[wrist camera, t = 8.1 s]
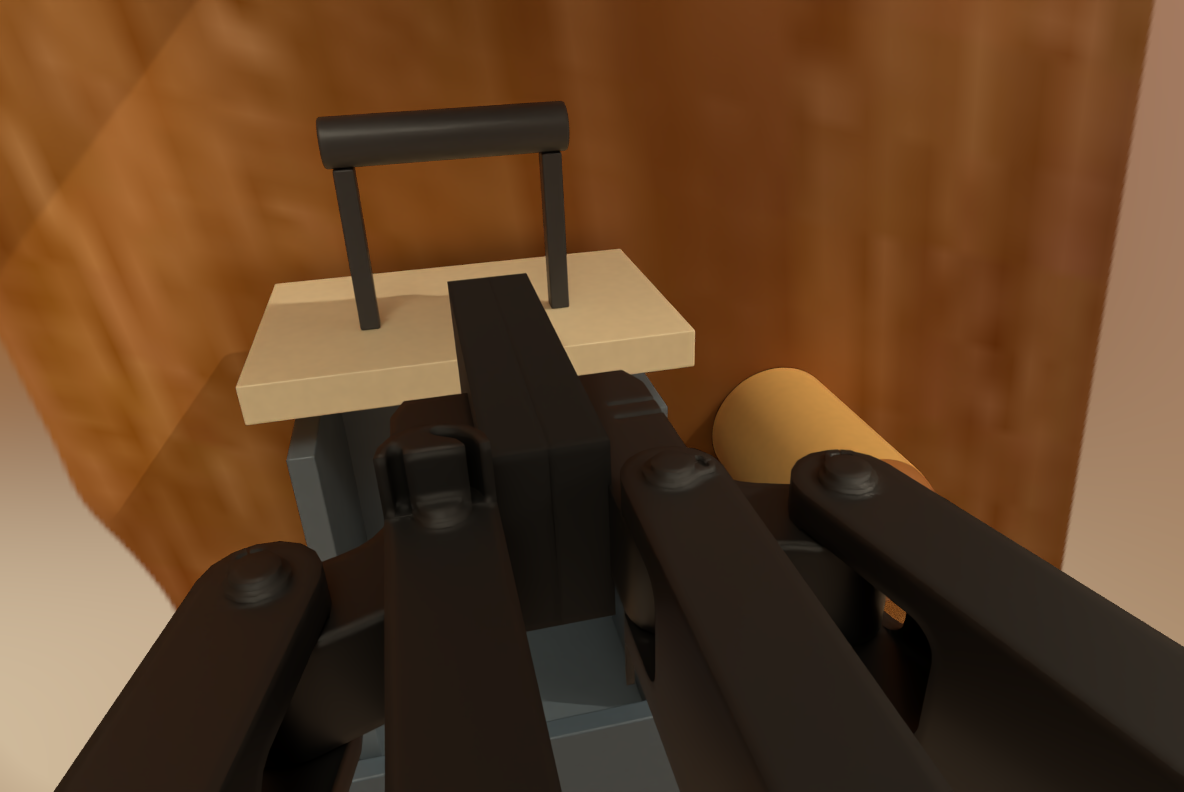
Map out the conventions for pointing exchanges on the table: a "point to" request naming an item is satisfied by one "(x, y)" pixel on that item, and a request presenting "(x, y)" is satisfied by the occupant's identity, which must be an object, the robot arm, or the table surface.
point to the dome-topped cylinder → (791, 428)
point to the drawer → (443, 355)
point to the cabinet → (586, 754)
